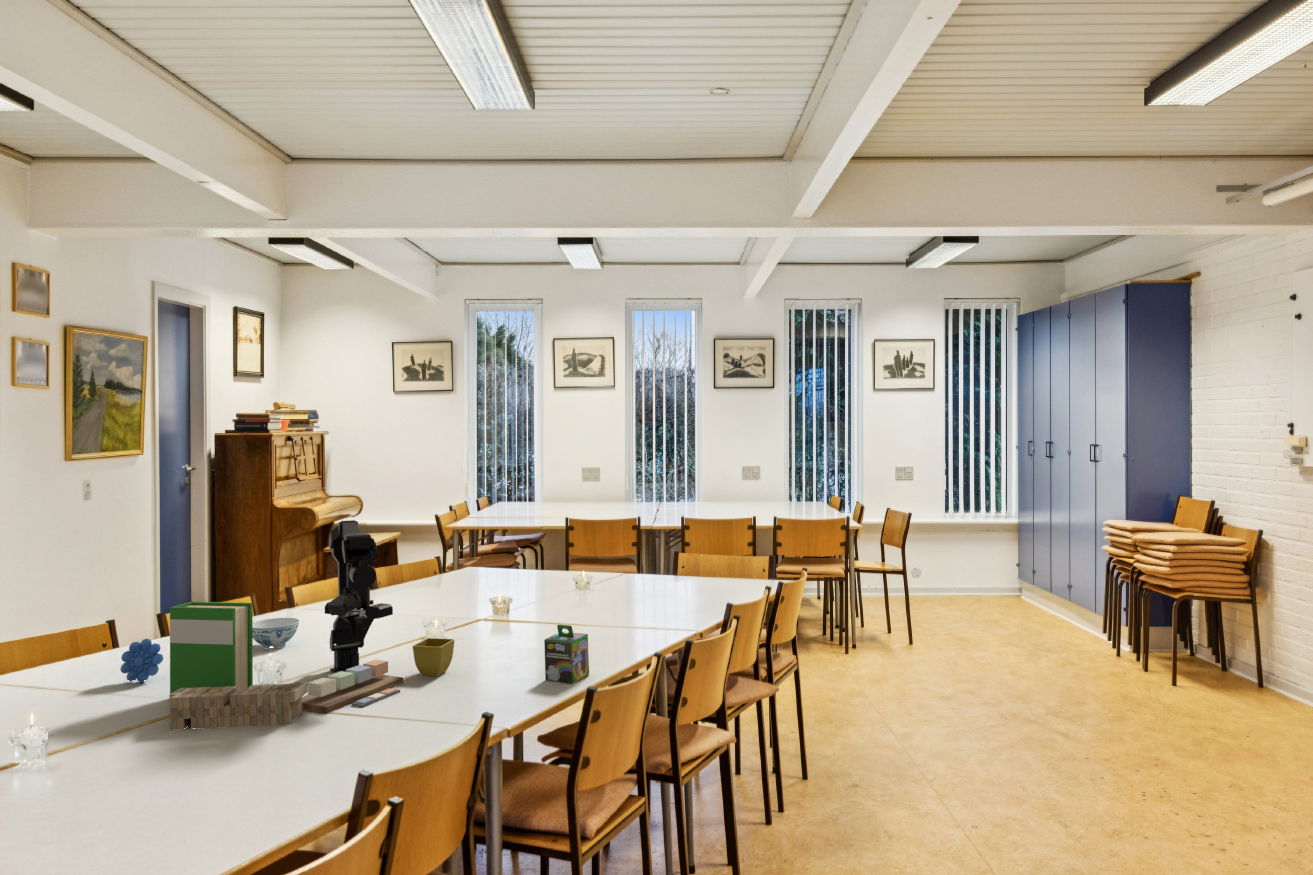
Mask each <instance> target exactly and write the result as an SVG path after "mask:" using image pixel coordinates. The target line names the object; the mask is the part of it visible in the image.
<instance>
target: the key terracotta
mask: <svg viewBox="0 0 1313 875" xmlns="http://www.w3.org/2000/svg"><path fill="white" fill-rule="evenodd" d="M362 666H368V667H372V676H374V677H377V676H379V675H386V674H387V673H389V661H388V660H380V659H373V660H369V661H367V662H364V663H362Z"/></svg>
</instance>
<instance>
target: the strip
mask: <svg viewBox="0 0 1313 875" xmlns="http://www.w3.org/2000/svg"><path fill="white" fill-rule="evenodd" d="M398 692H399V693H401V689H397V688H389V689H386V690H383V691H381V692H379V693H376V694H373V695H371V696H368V697H366V698H363V699H360V700H358V701H356V702H354V703H352V704H351V706H352V707H356V706H358V707H357V708H362V707H363V708H365V707H367V706H370V705H372V703H373V704H375V703H378V702H380V701H383V700H384V699H386V698H387V699H388V698H389V696H390V697H392V696H394V695H397V694H399V693H398ZM379 700H380V701H379Z"/></svg>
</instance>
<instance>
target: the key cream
mask: <svg viewBox="0 0 1313 875" xmlns="http://www.w3.org/2000/svg"><path fill="white" fill-rule="evenodd" d="M307 686H308V692H307V693H308V694H307V695H313V696H319V697H323V696H325V695H328V694H331V693H333V692H336V679H329V678H327V677H321V678H318V679H314V680H311V681H308V682H307Z"/></svg>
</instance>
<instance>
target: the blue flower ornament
mask: <svg viewBox="0 0 1313 875" xmlns="http://www.w3.org/2000/svg"><path fill="white" fill-rule="evenodd" d="M160 651H161V645H160V643H152V640H151V639H150V638H144V639H142V640H141V641H132V643H130V645H129V647H128V650H126V651H124V652H123V653H122V654H121V661H122V662H123V663H122V664H121V666H120V672H121V673H122V674H126V680H127V681H128V680H129V681H128V682H133V681H132V680H135V681H136V680H137V682H139V681H144V680H146V681H148V679H149V677H150V676H151V677H153V676H155V675H157V673H158V672H159V670H160V668H159V666H158V665H160V664H161V663H163V661H164V655H163V654H162V653H159V652H160Z"/></svg>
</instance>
